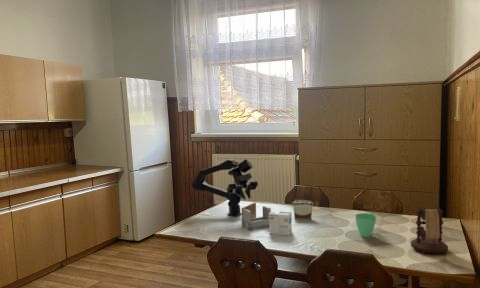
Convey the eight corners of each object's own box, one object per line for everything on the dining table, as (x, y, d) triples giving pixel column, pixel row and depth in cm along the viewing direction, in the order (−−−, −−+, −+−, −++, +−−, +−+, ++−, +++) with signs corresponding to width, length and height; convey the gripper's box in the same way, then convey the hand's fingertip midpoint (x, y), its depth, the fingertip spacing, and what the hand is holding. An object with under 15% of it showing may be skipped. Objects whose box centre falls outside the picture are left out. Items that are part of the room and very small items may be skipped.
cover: (241, 226, 206) (241, 208, 205) (254, 219, 218) (254, 202, 217) (243, 226, 206) (243, 208, 205) (256, 219, 217) (255, 202, 216)
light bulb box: (292, 231, 196) (291, 211, 195) (289, 235, 190) (289, 215, 189) (272, 230, 199) (271, 210, 198) (268, 234, 193) (268, 213, 192)
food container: (312, 216, 223) (312, 199, 222) (313, 219, 217) (313, 202, 216) (291, 216, 224) (291, 199, 223) (292, 219, 218) (292, 202, 217)
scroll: (420, 256, 160) (421, 210, 158) (405, 244, 174) (405, 202, 173) (455, 255, 160) (456, 209, 158) (436, 243, 174) (437, 201, 173)
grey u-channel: (241, 227, 205) (241, 209, 204) (266, 222, 212) (266, 205, 211) (247, 230, 200) (246, 212, 199) (272, 225, 207) (272, 207, 206)
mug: (373, 240, 181) (374, 219, 180) (353, 237, 186) (353, 217, 185) (379, 231, 193) (379, 212, 192) (359, 228, 198) (359, 210, 197)
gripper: (228, 170, 216) (237, 192, 207) (256, 167, 224) (266, 188, 216) (222, 181, 223) (231, 203, 215) (250, 178, 232) (259, 199, 223)
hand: (247, 198), depth 217 cm, fingers open, 3 cm apart
